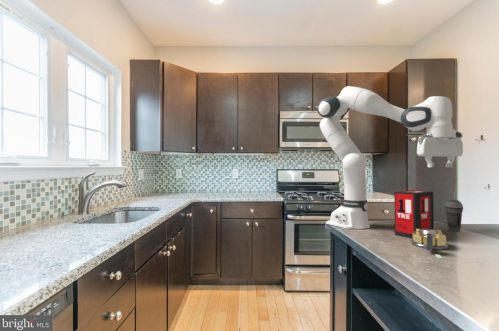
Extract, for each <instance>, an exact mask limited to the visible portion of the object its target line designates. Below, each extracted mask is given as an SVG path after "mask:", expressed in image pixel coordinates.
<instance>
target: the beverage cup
mask: <svg viewBox="0 0 499 331" xmlns="http://www.w3.org/2000/svg"><path fill="white" fill-rule="evenodd" d="M444 210H445V216H446V221H447V222H446V223H447V229H448V231H449V232H453V233H461V228H462V217H463V213H464V212H463V211H464V205H463V203H462V202H461V201H460V200H458V199H456V190H454V191H453V199H451V198H450V199H449V200H447V201H446V202H445V204H444Z"/></svg>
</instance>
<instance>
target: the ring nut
mask: <svg viewBox="0 0 499 331" xmlns="http://www.w3.org/2000/svg"><path fill="white" fill-rule="evenodd" d="M413 241H414V242H417V243H420V244H424V245H427V249H426V250H427V251H430V252H433V246H446V244H447V236H446V235H445V234H443V233H442V230H439V229H438V230H437V229H436V234H435V237H432V234H427V236H424V235H423V232H422V229H420V228H417V229H416V231H414V232H413Z"/></svg>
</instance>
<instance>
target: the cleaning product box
mask: <svg viewBox="0 0 499 331" xmlns="http://www.w3.org/2000/svg"><path fill="white" fill-rule="evenodd" d="M393 194H394V202H393V203H394V235H395V236H397V237H403V238H407V239H411V240H412V239H413V232H414V231H416V229H417V228H420V229H432V230H435V227H434V226H435V222H434V221H435V219H434V215H435V214H434V209H435V208H434V191H431V190H430V191H427V190H414V189H413V190H411V189H410V190H402V191H394V192H393Z"/></svg>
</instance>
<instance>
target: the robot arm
mask: <svg viewBox="0 0 499 331" xmlns="http://www.w3.org/2000/svg"><path fill="white" fill-rule="evenodd" d="M350 109H351V110H354V111H356V112H359V113H363V114H368V115H375V116H380V117H385V118H388V119H390V120H392V121H395V122H398V123H400V124H402V125H403V126H404V127H405V128H407V129H408V130H409V131H411V132H413V133H422V132H426V133H422V134H420V135H419V136H418V141H417V146H416V155H417V156H418V157H424V160H425V161H426V163H427V168H434V167H435V162H433V157H437V158H438V157H445V158H447V162H446V163H445V167H446V168H453V163H454V161H455V158H457V157H462V156H463V153H464V142H463V136H464V134H463V133H462V132H460V131H458V130H456V129H454V127H453V126H454V125H453V123H452V119H453V104H452V101H451V99H450V98H449V97H448V96H446V95H431V96H429V97H428V98H426V99H425V100H424V101H422V102H421V103H418V104H417V105H413V106H409V107H407V108H405V109H404V108H402V107H398V106H396V105H393V104H391V103H390V102H388V101H387V100H385V99H384V98H383V97H382V96H380V95H379V94H378V93H376V92H373V91H372V90H369V89H367V88H363V87H359V86H351V85H348V86H344V88H342V89H341V91H340V94H338V96H335V95H334V96H329V97H325V98H323V99H321V100H320V101H319V102H318V104H317V108H316V110H317V113H318V115H319V116H320V117H322V119H321V121H320V122H319V129H320V131H321V133H322V135H323V137H324V138H325V141H326V142H327V143H328V145H329V147H330V148H331V149H332V151H333V152H334V154H335V155H336V156H337V158H338V159H339V160H340V161H341V163H342V165H341V167H342V179H343V194H344V195H343V196H344V198H343V199H342V200H340V201H339V203H340V204H341V205H340V206H339V207H338V208H336V209H334V210H333V211H332V212H331V215H330V219H329V220H327V221H326V222H325V223H326V224H327V225H331V226H335V227H339V228H343V229H352V230H355V229H359V230H362V229H363V230H364V229H370V228H371V225H370V220H369V217H368V209H369V208H368V206H369V204H368V199H367V177H366V168H367V166H368V165H367V164H368V162H367V160H366V158H365V156H364V155H363V154H362V152H361V151H360V150H359V148H358V146H357V145H356V144H355V143H354V141H353V140H352V138H351V137H350V135H349V134H348V132H347V131H346V129H345V128H344V127H343V125H342V124H341V122H340V121H341V120H343V119H344V117H345V116H346V115H347V114H348V113H349V111H350Z"/></svg>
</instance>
